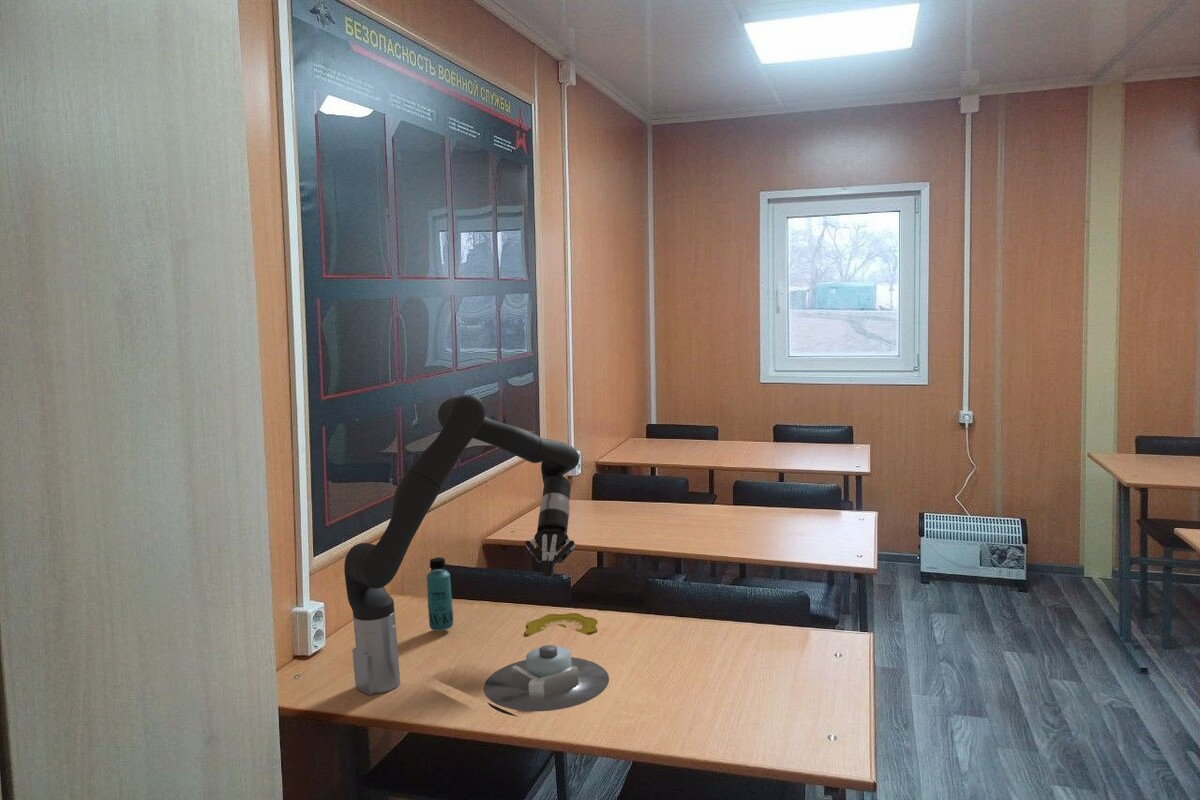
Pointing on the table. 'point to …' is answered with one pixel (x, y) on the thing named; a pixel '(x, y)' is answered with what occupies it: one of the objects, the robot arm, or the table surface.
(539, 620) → the decorative medallion
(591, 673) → the turntable
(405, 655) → the table surface
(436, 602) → the beverage bottle
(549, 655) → the cover
